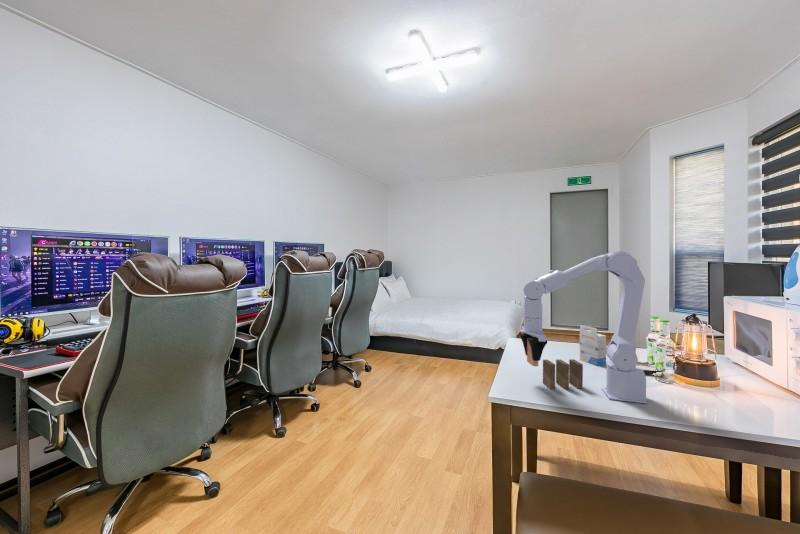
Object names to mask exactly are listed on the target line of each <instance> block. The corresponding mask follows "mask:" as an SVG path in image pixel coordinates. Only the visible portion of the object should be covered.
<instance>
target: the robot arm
mask: <svg viewBox="0 0 800 534" xmlns="http://www.w3.org/2000/svg"><path fill="white" fill-rule="evenodd" d="M593 271H607V272H608V273H611V274H612V275H615V276H616V277H617V279H618V280H619V281H620V282H621V283H622V290H621V294H620V301H619V306H618V311H617V312H618V313H617V316H616V317H617V318H616V324H615V329H614V333H613V335H612V336H611V340H610V342H609V343H608V345H606V357H608V358H609V359H608V361H606V387H602V388H601V390H602V391H603V392H604V394H605V396H606V397H607V398H608V399H609V400H613V401H623V402H629V403H630V402H631V403H637V404H647V403H648V402H647V378H646V377H647V376H646V375H645V373H644V371H643V370H644V369H643V368H642V369H641V368H637V366H638V365H637V363H638V362H639V358H638V356H637V353H636V351H637V345H636V339H635V338H636V333H637V332H636V331H637V327H638V322H639V316H640V311H641V306H642V300H643V293H644V290H645V289H644V288H645V283H646V279H645V276H644V275H643V273H642V271H641V269H640V267H639V265H638V260H637V259H636V258H635V257H634V256H632V255H631V254H630V253H628V252H626V251H622V250H619V251H611V252H610V251H609V252H607V253H605V254H601V255H597V256H595V257H591V258H589V259H586V260H585V261H583V262H580V263H578V264H576V265H574V266H572V267H569V268H568V269H566V270H564V271H562V270H558V269H556V270H553V269H551V270H548V273H547V274H545V275H542V276H540V277H535V278H534V281H533V280H530V281H527V282H525V284H524V287H523V293H524V297H523V325H521V326H520V330H519V332H520V333H519V338H520V339H521V341H522V344H523V345H522V346H523V348H524V353H525V356H527V338H532V339H528V341H529V344H530V347H531V352H532V359H533V361H538V362H539V361H541V358H542V355H543V351H544V349H545V347H546V345H547V344H548V340H547V335H546V334H545V333H544V331H543V303H542V296H543V294H545V295H547V294H550V293H552V292H554V291H556V290H559V289H561V288H565V287H566V285H567V283H568V281H569V280H573V279H575V278H577V277H580V276H583V275H585V274H588V273H591V272H593Z"/></svg>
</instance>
